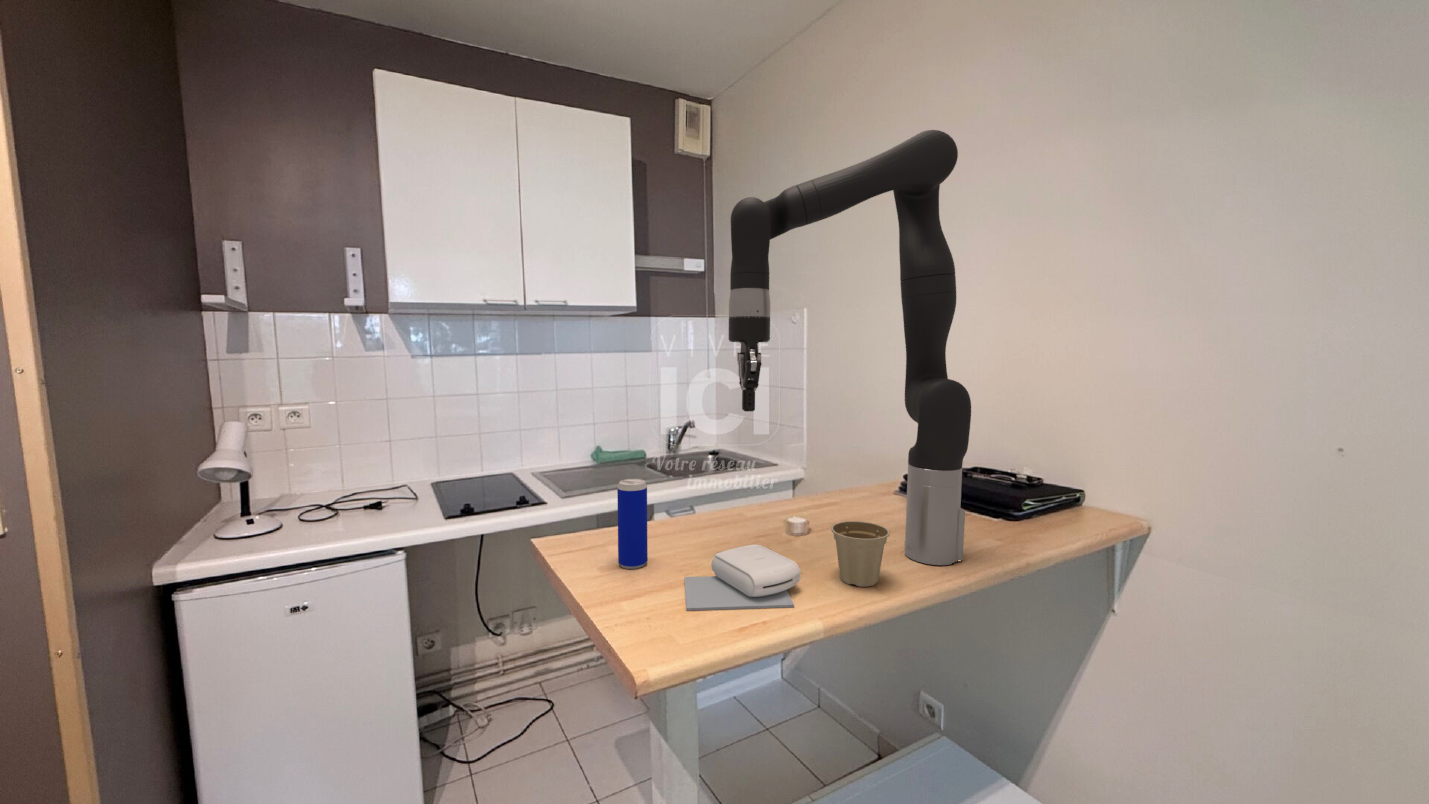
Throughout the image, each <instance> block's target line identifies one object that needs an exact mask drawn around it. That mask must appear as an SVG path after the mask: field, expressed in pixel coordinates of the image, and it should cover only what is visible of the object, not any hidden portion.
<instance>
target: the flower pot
mask: <svg viewBox="0 0 1429 804" xmlns="http://www.w3.org/2000/svg"><path fill="white" fill-rule="evenodd" d="M830 530H831V532H832V533H833V534H832V535H833V538H834V539H833V540H834V541H835V545H836V553H837V555H836V556H837V562H838V563H837V564H838V570H839V572H838V573H839V578H840V581H842V582H843V583H845V584H846V585H854V586H855V585H856V586H857V587H860V588H861V587H863V588H864V587H865V588H866V587H867V588H868V587H873V586H876V585H877V583H878V582H879V578H880V571H881V566H882V560H883V555H884V549H885V545H886V543H887V540H888V537H890V535H891V533H890V532H891V531H890V530H889V529H888V528H887V527H885V526H883V525H880V524H878V523H873V522H870V521H869V522H868V521H863V520H862V521H860V520H843V521H840V522H835V523H833V524H832V525H831V527H830Z"/></svg>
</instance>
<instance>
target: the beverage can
mask: <svg viewBox="0 0 1429 804" xmlns="http://www.w3.org/2000/svg"><path fill="white" fill-rule="evenodd" d="M616 488H617V489H616V490H617V491H616V492H617V555H618V556H617V560H618V561H617V563H618V564H619V565H620V567H621V568H623V569H627V570H637V569H641V568H643V567H644V566H646V564H647V563H648V559H649V558H648V485H647V482H646V480H644V479H642V478H625V479H621V480H620V481H619V482H618V485H617V487H616Z"/></svg>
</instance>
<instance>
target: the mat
mask: <svg viewBox="0 0 1429 804" xmlns="http://www.w3.org/2000/svg"><path fill="white" fill-rule="evenodd" d="M684 591H685V592H684V594H685V605H686V606H685V611H687V612H690V611H691V612H692V611H695V612H696V611H718V610H719V611H721V610H722V611H723V610H746V609H747V610H748V609H749V610H750V609H751V610H753V609H754V610H755V609H779V608H780V609H785V608H795V604H794V601H793V600H792V598H791V596H790V594H789V592H788V589H787V590H784V591H782V592H779V593H775V594H771V595H767V596H760V597H751V596H748V595H746V594H745V593H743V592H741V591H740V590H738V589H736V588H735V587H733V586H732V585H730V584H728V583H727V582H725V581H724V580H722V579H720V578H719V577H717V576H716V575H710V576H709V575H708V576H684Z"/></svg>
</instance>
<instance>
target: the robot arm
mask: <svg viewBox="0 0 1429 804" xmlns="http://www.w3.org/2000/svg"><path fill="white" fill-rule="evenodd" d="M958 157H959V151H958V145H957V143H956V142H955V140H954V138H953V137H951V136H950V135H949V134H948V133H947V132H945V131H941V130H940V129H939V130H937V129H929V130H923V131H920V132H919V133H916V134H915V135H913V136H912V137H910V138H909V139H906V140H904V141H902V142H901V143H899V144H897V145H895V146H894V147H892V148H889V149H887V150H885V151H883V152H881V153H879V154H877V155H875V156H873V157H870V158H868V159H865V160H863V161H861V162H858V163H855V164H853V165H850V166H848V167H845V168H842V169H839V170H836V171H833V172H831V173H828V174H824V175H821V176H818V177H815V178H812V179H809V180H807V181H804V182H800V183H799V184H795V185H793V186H790V187H787V188H786V189H783V190H782V192H780V194H778V195H777V196H774V198H771V199H768V200H765V201H764V200H762V199H760V198H757V197H754V196H751V197H750V196H748V197H744V198H742V199H741V200H739V201H738V202H737V203H736V204H735V206H734V207H733V209H732V211H731V214H730V239H731V241H730V242H731V243H730V246H731V263H730V264H731V265H730V273H729V274H730V275H729V276H730V277H729V278H730V281H729V282H730V284H729V285H730V287H729V289H730V290H729V291H730V292H729V299H728V342H731V343H740V351H739V352H737V353H736V361H737V366H738V369H737V370H738V371H737V373H738V378H739V382H738V384H739V386H740V390H741V409H742V411H744V412H754V411H755V410H756V391H757V389H758V388H759V381H760V375H761V368H762V365H763V364H762V352H759V345H758V344H759V343H768V342H770V340H771V296H770V263H769V255H770V244H771V240H773V239H775V238H777V237H779V236H781V235H783V234H786V233H787V232H789V231H791V230H794V229H797V228H801V227H805V226H807V225H810V224H814V223H817V222H820V221H823V220H825V219H828V218H831V217H833V216H836V215H838V214H841V213H842V212H844V211H846V210H849V209H850V208H852V207H855V206H857V205H859V204H861V203H864V202H865V201H868V200H870V199H871V198H875V197H878V196H879V195H883V194H886V193H888V192H889V193H890V192H892V191H893V197H894V203H895V208H896V214H897V222H898V239H899V240H898V244H899V245H898V247H899V248H898V250H899V267H900V268H899V272H900V275H899V276H900V277H899V278H900V280H899V282H900V295H901V296H900V299H901V308H902V318H903V319H902V320H903V331H904V333H903V334H904V342H905V343H904V344H905V357H906V359H905V362H906V363H905V381H904V382H905V383H904V406H905V409H906V413H907V414H908V416H909V417H910V418H911V419H912V420H913V421H914V422H915V423H917V432H916V433H917V434H916V441H915V444H914V445H913V446H912V447H910V448H909V451H908V454H907V455H908V456H907V457H908V459H907V484H906V485H907V486H906V507H905V511H906V513H905V531H904V532H905V535H904V555H905V556H906V557H907V558H909V559H911V560H913V561H915V562H918V563H922V564H924V565H925V564H927V565H933V566H948V565H953V564H952V563H954V562H956V561H958V560H962V559H963V560H964V543H965V542H964V541H965V524H966V523H965V522H966V521H965V520H966V510H965V509H963V508H962V507H961V502H962V501H961V500H962V481H963V464H964V463H963V462H964V457H965V456H966V454H967V451H968V448H969V442H970V441H969V440H970V433H971V432H970V431H971V421H972V418H971V417H972V400H971V396H970V393H969V391H968V390H967V388H966V387H965V386H964V385H963V384H962V383H960V382H958V381H956V380H954V379H951V378H950V379H949V376H948V371H947V370H948V369H947V368H948V367H947V356H946V352H947V351H946V350H947V342H948V337H949V334H950V332H951V331H950V330H951V327H952V323H953V320H954V315H955V314H956V306H957V279H956V267H955V262H954V258H953V254H952V252H951V249H950V246H949V244H948V241H947V239H946V237H945V234H944V231H943V229H942V224H941V219H940V187H941V184H942V183H944V182H945V180H946V179H947V178H949V176H950V175H951V173H952V172H953V170H954V169H955V167H956V165H957V161H958ZM958 562H959V561H958ZM956 563H957V562H956ZM954 564H955V563H954Z"/></svg>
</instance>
